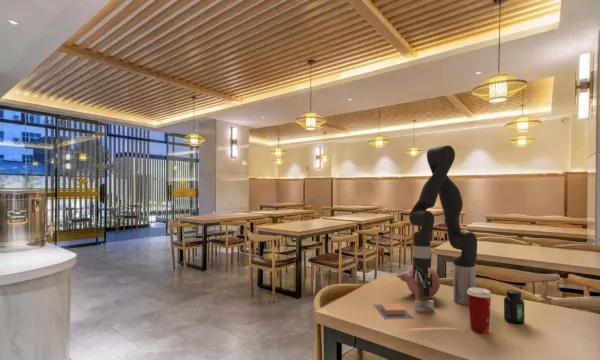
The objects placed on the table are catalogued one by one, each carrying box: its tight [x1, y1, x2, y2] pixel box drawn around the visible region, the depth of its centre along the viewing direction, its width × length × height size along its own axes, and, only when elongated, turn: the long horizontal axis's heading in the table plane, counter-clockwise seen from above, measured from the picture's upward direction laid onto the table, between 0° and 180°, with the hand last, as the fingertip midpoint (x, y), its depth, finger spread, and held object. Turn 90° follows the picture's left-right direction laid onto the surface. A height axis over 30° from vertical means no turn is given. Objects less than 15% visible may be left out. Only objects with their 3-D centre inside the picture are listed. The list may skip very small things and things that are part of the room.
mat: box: [373, 304, 415, 320], centre depth 136 cm, size 12×16×1 cm
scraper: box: [414, 280, 435, 312], centre depth 138 cm, size 8×4×13 cm, turn 93°
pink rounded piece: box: [396, 267, 441, 298], centre depth 157 cm, size 15×20×15 cm
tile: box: [380, 303, 406, 315], centre depth 135 cm, size 8×2×7 cm
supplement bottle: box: [503, 289, 526, 326], centre depth 128 cm, size 7×7×12 cm
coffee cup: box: [467, 287, 493, 335], centre depth 120 cm, size 8×8×15 cm
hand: (422, 293), depth 139 cm, fingers open, 8 cm apart
